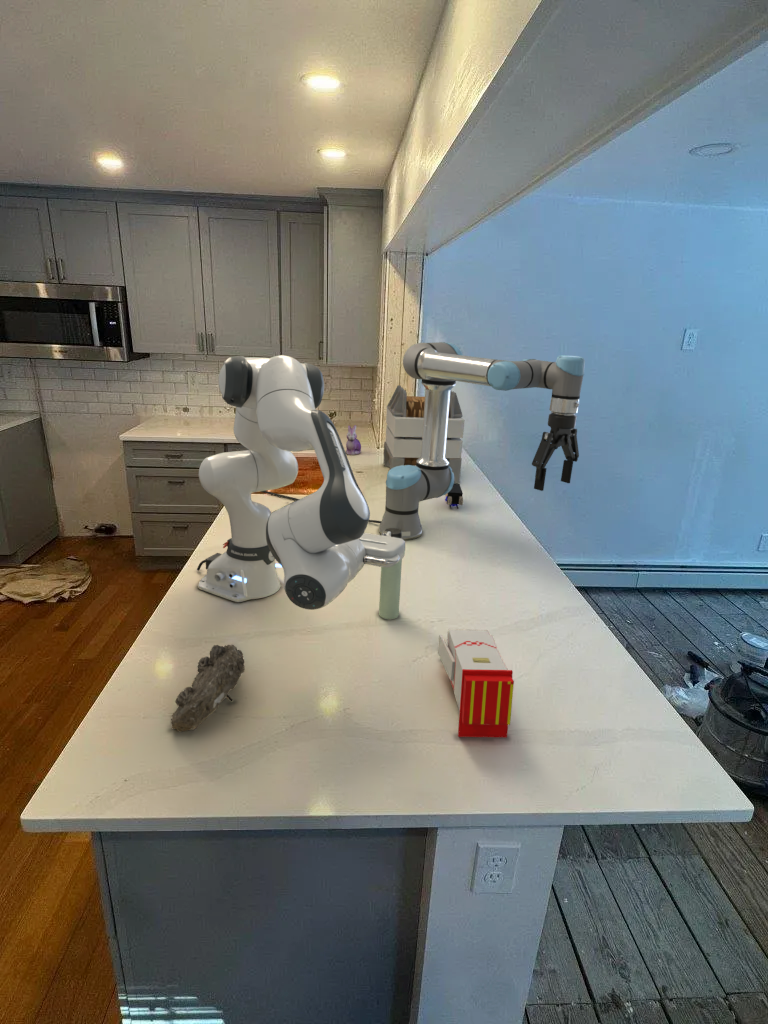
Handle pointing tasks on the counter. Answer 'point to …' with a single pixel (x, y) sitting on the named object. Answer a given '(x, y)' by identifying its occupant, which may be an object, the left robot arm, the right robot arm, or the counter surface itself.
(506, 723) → the toy
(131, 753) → the counter surface
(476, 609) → the counter surface
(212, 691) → the fossil
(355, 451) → the figurine
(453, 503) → the figurine character
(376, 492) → the counter surface
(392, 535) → the cap
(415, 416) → the transformer
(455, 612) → the counter surface
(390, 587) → the bottle
